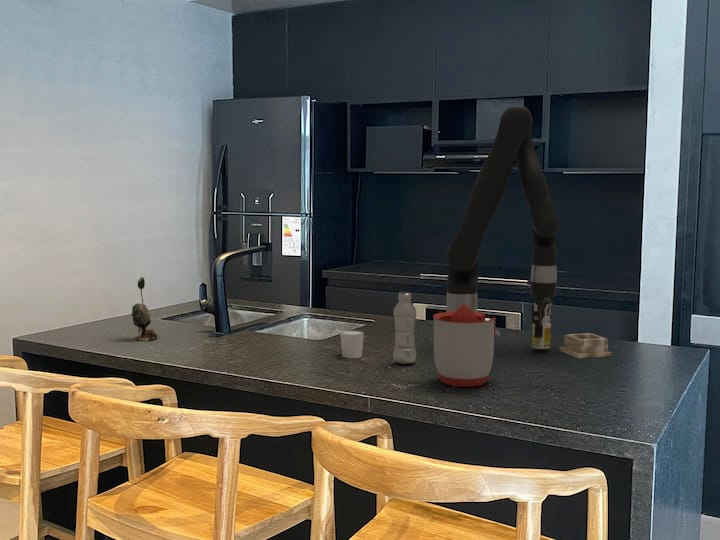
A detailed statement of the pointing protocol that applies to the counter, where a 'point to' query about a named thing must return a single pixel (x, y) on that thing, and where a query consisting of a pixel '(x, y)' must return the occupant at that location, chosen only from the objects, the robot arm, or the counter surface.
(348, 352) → the shot glass
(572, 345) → the open square wooden box
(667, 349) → the counter surface
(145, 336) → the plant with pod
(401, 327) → the plastic bottle
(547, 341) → the supplement bottle
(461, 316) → the citrus juicer
